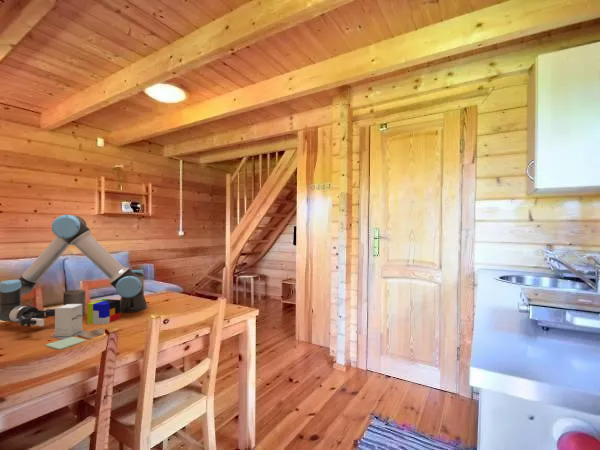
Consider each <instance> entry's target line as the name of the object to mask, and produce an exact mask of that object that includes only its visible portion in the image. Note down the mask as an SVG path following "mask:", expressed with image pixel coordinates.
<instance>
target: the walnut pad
mask: <svg viewBox="0 0 600 450" xmlns="http://www.w3.org/2000/svg"><path fill="white" fill-rule="evenodd" d="M105 329H106V328H102V327H101V328H97V329H92V330H90V331H86V333H83V334H79V335H77V338H81V339H85V340H90V339H92V338H94V337H97V336H100V335H103V334H104V333H105Z"/></svg>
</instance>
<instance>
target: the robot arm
mask: <svg viewBox="0 0 600 450" xmlns="http://www.w3.org/2000/svg"><path fill="white" fill-rule="evenodd" d="M51 231H52V233H53V234H54V235H55V237H54V239H52V241H51V242H50V243H49V244H48V245H47V246H46V247H45V248H44V249H43V251H42V252H41V253H40V254H39V256H37V258H36V259H35V260H34V261H33V262H32V263H31V265H30V266H29V267H28V268H27V269H26V270H25V271H24V272H23V273H22V275H20V277H19V278H18V279H8V280H2V281H1V282H0V321H1V322H13V323H17V324H19V326H20V327H25V326H26V328H28V327H31V326H39V327H43V326H44V325H45V319H47V318H50V317H55V308H47V309H44V310H41V309H40V310H39V309H38V308H37V307H35V306H28V305H22V296H24V295H27V294H30V293H31V292H32V291H33V290H34V289H35V288H36V287H35V286H36V285H37V283H39V281H40V280H41V279H42V277H43V276H44V275H45V274H46V273H47V272H48V271H49V269H51V267H52V266H53V265H54V264H55V263H56V262H57V260H59V258H60V257H61V256H62V255H63V253H65V251H66V250H67V249H68V248H69V246H74V247H76V248H77V249H78V250H79V251H80V252H81V253H82V254H83V255H84V256H85V257H86V258H88V259H89V260H90V262H92V263H93V264H94V265H95V266H96V267H97V268H98V269H99V270H100V271H101V272H102V273H103V274H104V275H105V276H106V277H107V278H109V284H110V285H111V286H112V287H113V288H115V291H116V293H117V295H119V296H120V299H119V300H120V313H134V312H140V311H143V310H146V309H147V308H148V304H147V301H146V298H145V296H144V293H145V291H144V285H145V284H144V279H145V278H144V277H145V273H144V270H143V269H133V270H132V269H130V267H125V266H123V265H122V264H121V263H120V261H119V260H117V259H116V258H115V257H114V256H113V255H112V254H111V253H110V252H109V251H108V250H107V249H106V248H105V247H103V245H102V244H101V243H99V241H98V240H97V239H95V237H94V236H93V235H91V233H92V230H91V229H90V228H89V227H88V226H87V223H86V221H85V219H84V218H82V217H80V216H79V215H78V216H77V215H72V214H63V215H60V216H57V217H56V218H55V219H54V220H53V221H52V223H51Z"/></svg>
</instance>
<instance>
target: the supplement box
mask: <svg viewBox="0 0 600 450" xmlns="http://www.w3.org/2000/svg"><path fill="white" fill-rule="evenodd" d="M54 309H55V316H54V334H55V336H72V335H74V334H76V333H78V332H80V331H83V317H82V304H66V305H62V306H58V307H55V308H54Z"/></svg>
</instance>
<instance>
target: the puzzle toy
mask: <svg viewBox="0 0 600 450" xmlns="http://www.w3.org/2000/svg"><path fill="white" fill-rule="evenodd" d="M86 311H87V316H86V317H87V319H86V320H87V322H86V323H87V324H90V325H106V324H109V323H112V322H114V321H117V320H120V319H121V312H120V299H113V298H112V299H111V298H110V299H109V298H104V299H100V300H95V301H92V302H89V303H87V310H86Z"/></svg>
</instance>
